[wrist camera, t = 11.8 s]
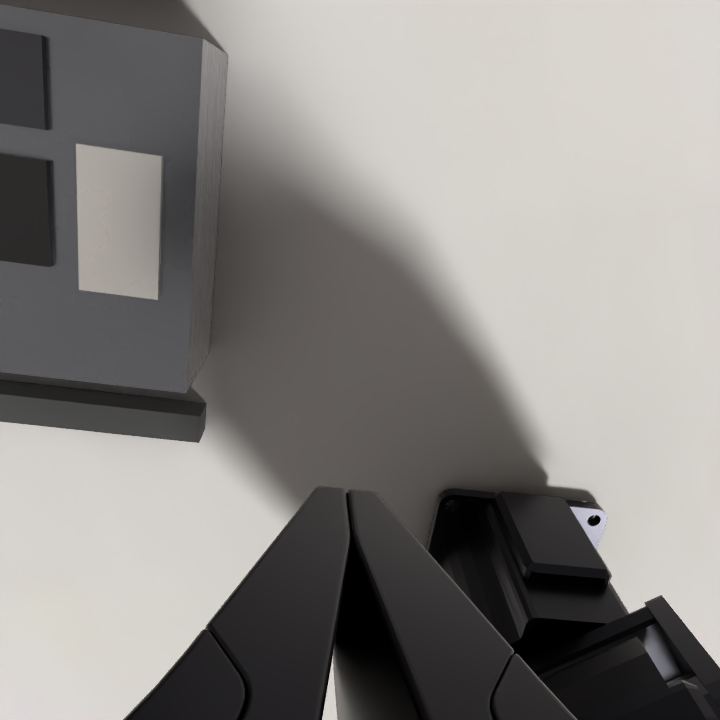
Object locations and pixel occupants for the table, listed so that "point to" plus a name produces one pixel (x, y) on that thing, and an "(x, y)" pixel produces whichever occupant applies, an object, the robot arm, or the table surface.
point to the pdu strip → (107, 199)
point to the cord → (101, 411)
